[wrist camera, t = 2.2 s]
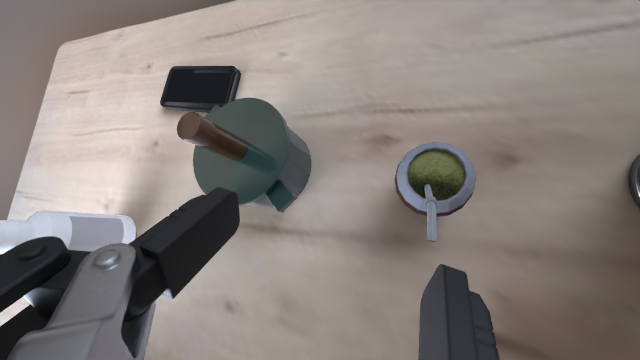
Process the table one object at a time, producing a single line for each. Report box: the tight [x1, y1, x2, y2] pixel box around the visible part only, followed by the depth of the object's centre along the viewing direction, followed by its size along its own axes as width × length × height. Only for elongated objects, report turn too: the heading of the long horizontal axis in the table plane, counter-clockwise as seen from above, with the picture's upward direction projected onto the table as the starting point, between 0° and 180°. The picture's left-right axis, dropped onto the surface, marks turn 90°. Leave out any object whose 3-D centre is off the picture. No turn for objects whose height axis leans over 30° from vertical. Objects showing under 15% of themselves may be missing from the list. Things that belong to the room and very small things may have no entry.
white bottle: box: [0, 211, 136, 254], centre depth 36 cm, size 7×7×18 cm
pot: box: [205, 104, 311, 212], centre depth 33 cm, size 11×17×8 cm
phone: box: [160, 66, 241, 112], centre depth 44 cm, size 8×1×15 cm
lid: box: [177, 98, 290, 205], centre depth 26 cm, size 13×13×8 cm
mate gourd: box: [395, 142, 476, 242], centre depth 23 cm, size 8×8×15 cm
